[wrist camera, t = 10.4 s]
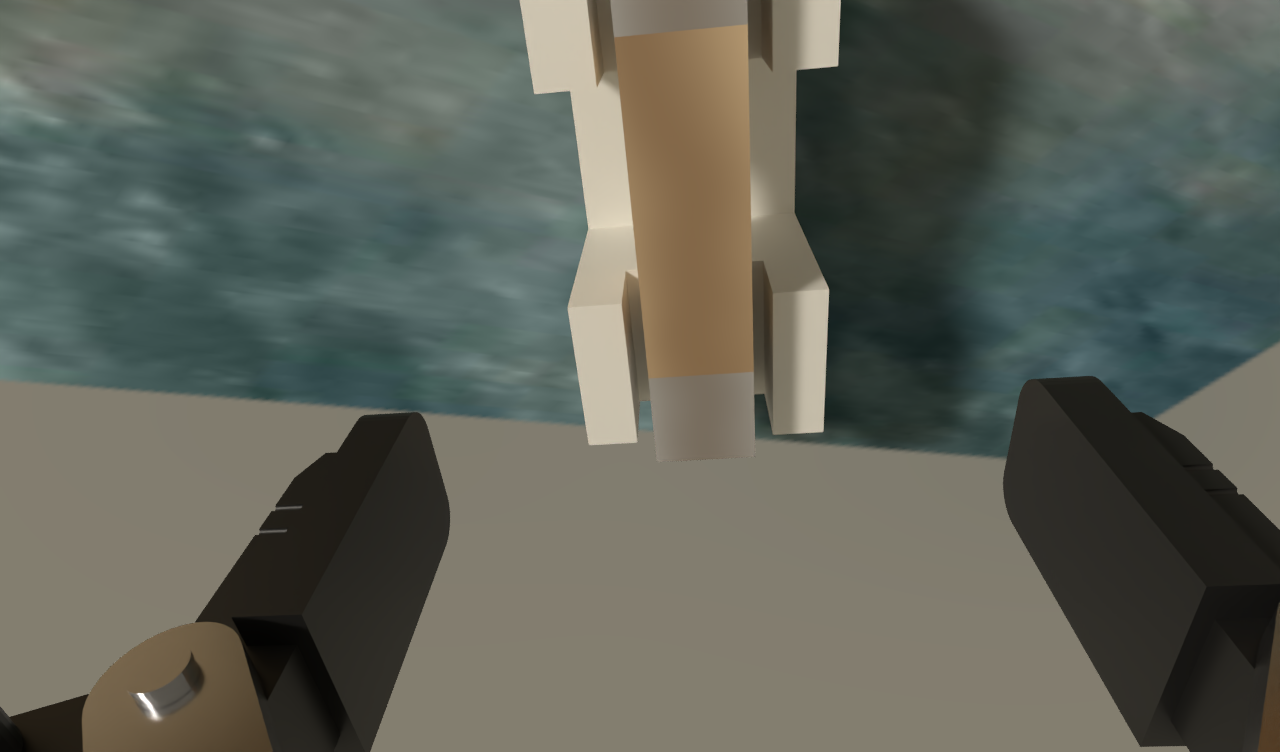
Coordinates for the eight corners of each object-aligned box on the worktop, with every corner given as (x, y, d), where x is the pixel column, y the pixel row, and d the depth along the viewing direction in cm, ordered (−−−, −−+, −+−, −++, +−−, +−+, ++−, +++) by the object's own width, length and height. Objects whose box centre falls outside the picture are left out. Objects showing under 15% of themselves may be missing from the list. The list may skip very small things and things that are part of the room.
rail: (730, -126, 19) (744, -139, 15) (743, 387, 26) (755, 456, 23) (610, -112, 19) (598, -122, 15) (658, 392, 26) (656, 462, 23)
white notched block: (793, -150, 23) (848, -185, 16) (788, 320, 31) (823, 432, 24) (547, -122, 23) (497, -145, 16) (606, 332, 31) (588, 445, 25)
